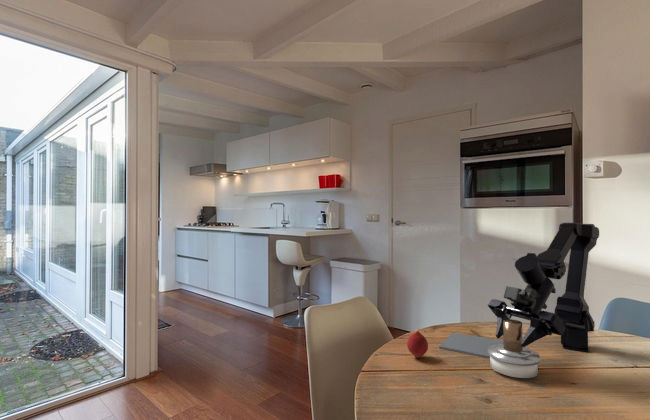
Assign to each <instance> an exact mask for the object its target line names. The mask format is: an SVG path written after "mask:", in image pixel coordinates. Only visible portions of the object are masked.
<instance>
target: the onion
mask: <svg viewBox="0 0 650 420" xmlns="http://www.w3.org/2000/svg"><path fill="white" fill-rule="evenodd" d="M406 348H407V349H408V351H409V352H410V354H412V356H414V358H417V359H419V358H421V357H422V356H424V355H425V354H426V353H427V352H428V350H429V343H428V341H427V339H426V337H425V336H424V335H423V334H422V333H421V332H420V331H419V330H418V329H414V333H412V334H410V336H409V337H408V338H407V342H406Z"/></svg>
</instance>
